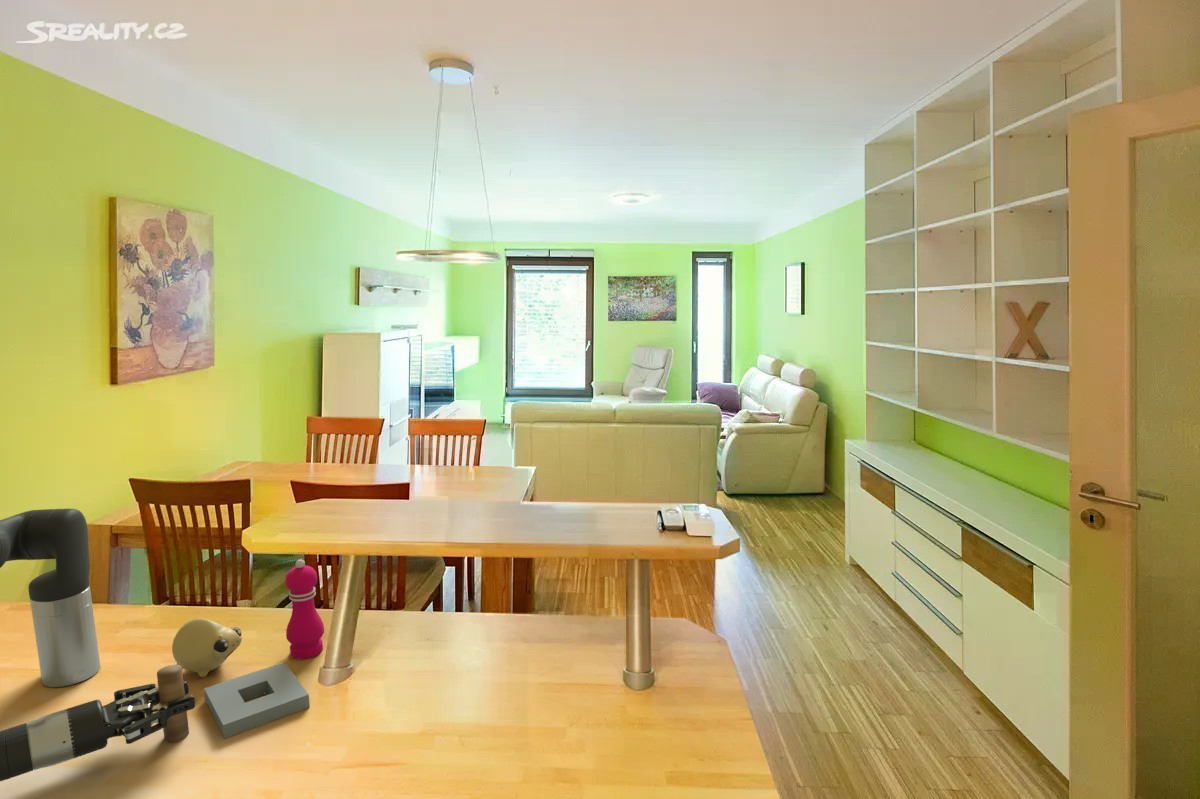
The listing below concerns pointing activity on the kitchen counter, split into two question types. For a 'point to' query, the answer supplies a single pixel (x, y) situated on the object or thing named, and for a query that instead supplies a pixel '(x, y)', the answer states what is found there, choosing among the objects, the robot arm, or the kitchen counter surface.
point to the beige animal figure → (204, 645)
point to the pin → (170, 691)
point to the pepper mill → (303, 613)
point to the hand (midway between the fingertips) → (190, 694)
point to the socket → (244, 716)
